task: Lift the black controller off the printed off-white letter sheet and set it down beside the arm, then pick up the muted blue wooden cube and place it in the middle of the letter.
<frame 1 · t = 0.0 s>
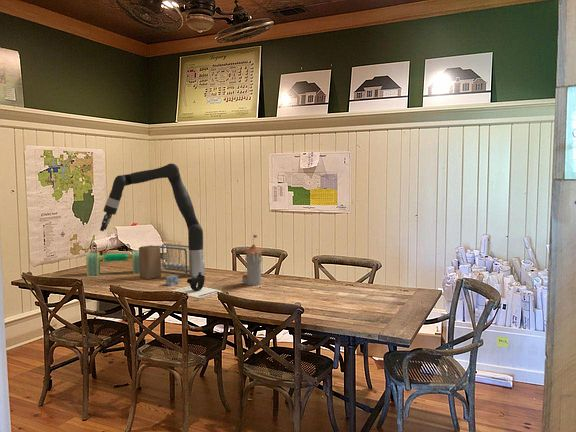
hand: (102, 230, 294), 31 cm above the table, tool tilted 20°, fingers open, 8 cm apart
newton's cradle: (174, 272, 321), on the table
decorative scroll: (116, 273, 317), on the table
cube: (172, 284, 284), on the table
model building: (252, 284, 285), on the table
letter: (196, 291, 267), on the table
controller: (196, 291, 267), resting on letter
block: (150, 277, 303), on the table
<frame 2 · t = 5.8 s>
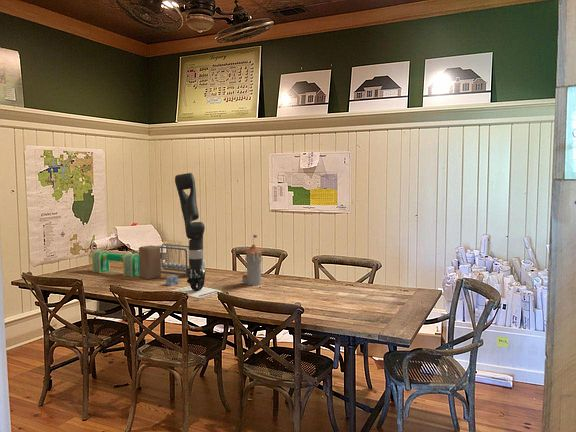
hand: (196, 286, 267), 3 cm above the table, tool pointing down, fingers closed on controller, 4 cm apart
controller: (196, 291, 267), resting on letter, touching gripper
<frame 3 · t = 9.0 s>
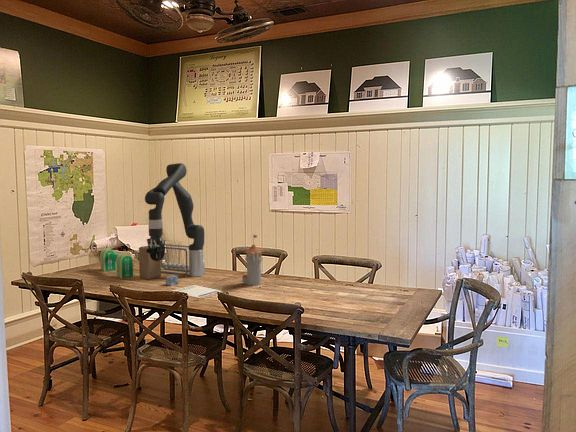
hand: (156, 257, 269), 19 cm above the table, tool pointing down, fingers closed on controller, 4 cm apart
controller: (156, 261, 269), point 17 cm above the table, touching gripper
when the fingers open (3 cm above the table, at t = 12.4 s): controller stays where it is, on the table.
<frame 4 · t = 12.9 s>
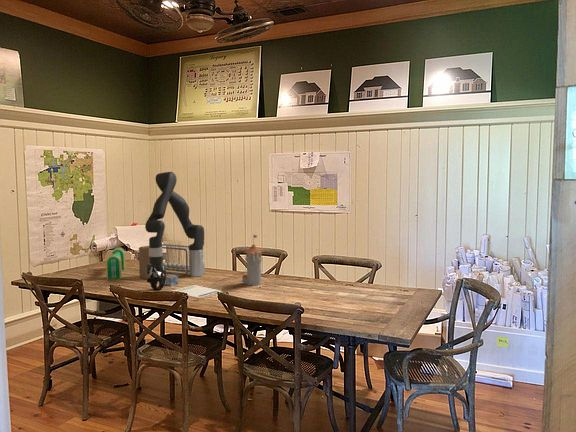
hand: (156, 283, 270), 4 cm above the table, tool pointing down, fingers open, 8 cm apart
controller: (156, 290, 270), on the table
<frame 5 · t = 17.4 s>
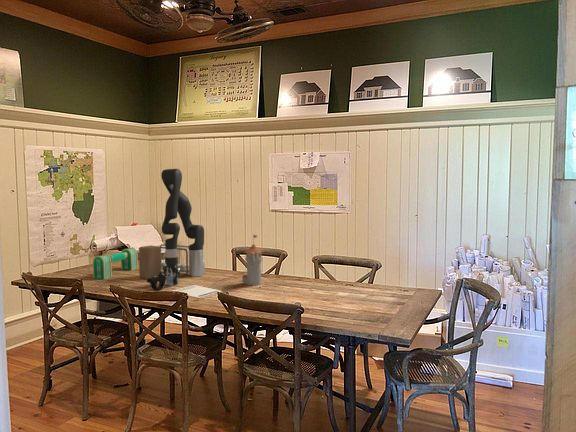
hand: (172, 283, 284), 0 cm above the table, tool pointing down, fingers closed on cube, 5 cm apart
cube: (172, 284, 284), on the table, touching gripper
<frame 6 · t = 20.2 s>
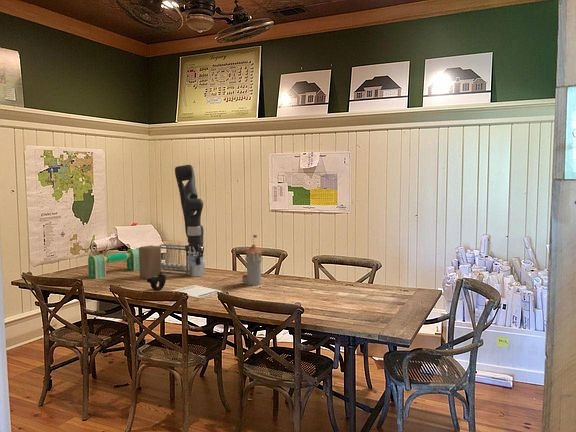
hand: (194, 264, 266), 16 cm above the table, tool pointing down, fingers closed on cube, 5 cm apart
cube: (194, 264, 266), point 15 cm above the table, touching gripper
when the fingers open (2 cm above the table, at t = 23.3 s): cube drops 1 cm, resting on letter.
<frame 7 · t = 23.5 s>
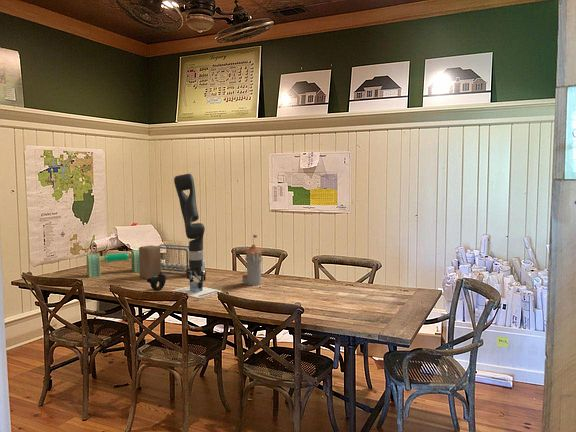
hand: (196, 287, 267), 2 cm above the table, tool pointing down, fingers open, 6 cm apart
cube: (196, 291, 267), resting on letter
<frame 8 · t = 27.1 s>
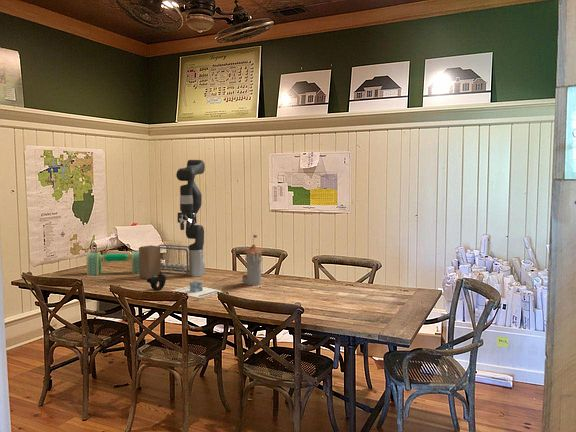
hand: (187, 230, 278), 33 cm above the table, tool pointing down, fingers open, 8 cm apart
at the end: controller touching table; cube inside the target area on the letter (0.1 cm from its centre), point 0.2 cm above the letter's base; the gripper is holding nothing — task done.
